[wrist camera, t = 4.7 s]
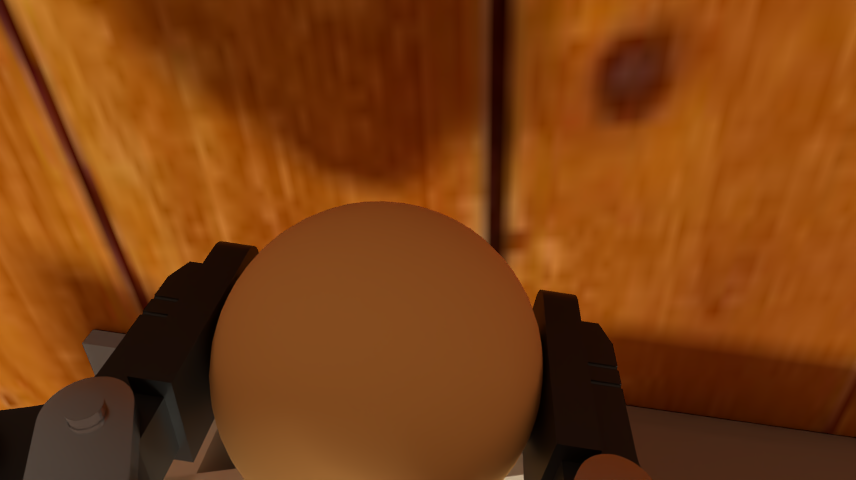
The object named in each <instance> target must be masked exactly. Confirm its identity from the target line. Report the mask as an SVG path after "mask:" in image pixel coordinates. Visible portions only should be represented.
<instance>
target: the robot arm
mask: <svg viewBox="0 0 856 480" xmlns="http://www.w3.org/2000/svg"><path fill="white" fill-rule="evenodd" d="M258 253H259V252H258V249H257V248H256V247H255V246H249V245H242V244H236V243H229V242H222V241H220V242H218V243H217V244H216V245H215V246H214V247H213V249H212V250H211V252H210V253H209V255H208V256H207V258H206V259H205V261H204V262H203V263H196V262H189V263H187V264H186V265H184V266H183V267H181V268H180V269H178V270H177V271H175V272H174V273H172V274H171V275H170V276H168V277H167V279H166V280H165V281H164V283H163V284H162V286H161V287H160V288H159V290H158V291H157V292H156V294H155V297H154V299H151V301H150V302H149V303H148V305H147V306H146V307H145V309H144V310H143V314H142V315H140V316H139V317H138V318H137V320H136V321H135V323H134V324H133V325H132V327H131V328H130V329H129V331H128V332H127V334H126V335H125V336H124V338H123V339H122V340H121V342H120V343H119V344H118V346H117V347H116V349H115V350H114V351H113V353H112V354H111V355H110V357H109V358H108V360H107V361H106V362H105V364H104V365H103V366H102V368H101V369H100V370H99V372H98V373H97V374H96V375H95V377H91V378H87V379H83V380H80V381H77V382H74V383H72V384H70V385H68V386H66V387H65V388H63V389H61V390H60V391H58V392H57V393H56V394H54V395H53V396H52V397H51V398H50V399H49V400H48V401H47V402H46V403H45V404H44V405H38V406H32V407H24V408H16V409H8V410H0V480H164V477H165V475H166V474H167V472H168V470H169V468H170V466H171V464H172V462H173V460H181V461H187V462H193V463H194V460H195V458H196V456H197V454H198V452H199V450H200V448H201V446H202V444H203V442H204V439H205V437H206V435H207V433H208V431H209V429H210V427H211V425H212V423H213V421H214V419H215V418H214V414H213V410H212V405H211V396H210V384H209V368H210V357H211V347H212V341H213V337H214V333H215V330H216V326H217V323H218V319H219V316H220V313H221V310H222V308H223V306H224V304H225V302H226V300H227V297H228V295H229V293H230V292H231V290H232V288H233V286H234V285H235V283H236V281H237V280H238V278H239V277H240V275H241V274H242V273H243V271H244V270H245V268H246V267H247V266H248V265H249V264H250V262H251V261H252V260H253V259H254V258H255V257H256V255H257V254H258ZM533 312H534V315H535V318H536V321H537V324H538V327H539V333H540V339H541V346H542V352H543V384H542V392H541V399H540V405H539V410H538V413H537V417H536V421H535V423H534V426H533V429H532V432H531V435H530V438H529V440H528V442H527V444H526V445H525V447H524V449H523V473H524V480H653V479H652V478H651V477H650V476H649V475H648V474H647V473H646V472H645V471H644V470H643V469H642V468H641V466H640V464H639V461H638V458H637V454H636V450H635V445H634V440H633V436H632V431H631V426H630V422H629V417H628V413H627V408H626V403H625V399H624V394H623V390H622V389H621V380H620V376H619V371H618V370H617V362H616V357H615V353H614V348H613V344H612V343H611V341H610V340H609V338H608V337H607V335H606V334H605V332H604V331H603V330H602V328H601V327H600V325H599V324H597V323H590V322H584V321H581V316H580V310H579V304H578V299H577V297H576V295H572V294H565V293H559V292H552V291H545V290H540V291H539V292H538V294H537V296H536V300H535V303H534V306H533Z"/></svg>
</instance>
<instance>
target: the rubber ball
mask: <svg viewBox="0 0 856 480" xmlns="http://www.w3.org/2000/svg"><path fill="white" fill-rule="evenodd" d="M209 384H210V396H211V405H212V410H213V414H214V418H215V422H216V425H217V429H218V432H219V435H220V438H221V440H222V442H223V444H224V446H225V448H226V451H227V453H228V455H229V457H230V459H231V461H232V462H233V464H234V466H235V467H236V468H237V470H238V471H239V473H240V474H241V475H242V477H243V478H244V480H504V478H505V477H506V476H507V475H508V473H509V472H510V471H511V469H512V468H513V467H514V466H515V464H516V462H517V460H518V458H519V457H520V455H521V453H522V451H523V449H524V447H525V445H526V444H527V442H528V440H529V438H530V435H531V432H532V429H533V426H534V423H535V421H536V417H537V413H538V410H539V405H540V399H541V392H542V384H543V352H542V346H541V339H540V333H539V327H538V324H537V321H536V318H535V315H534V312H533V309H532V307H531V304H530V301H529V298H528V296H527V294H526V292H525V291H524V289H523V287H522V285H521V283H520V281H519V280H518V278H517V277H516V275H515V273H514V272H513V270H512V269H511V268H510V266H509V265H508V264H507V263H506V261H505V260H504V259H503V258H502V257H501V256H500V255H499V254H498V253H497V252H496V251H495V250H494V249H493V248H492V247H491V246H490V245H489V244H488V243H487V242H486V241H485V240H484V239H483V238H482V237H480V236H479V235H478V234H476V233H475V232H474V231H473V230H471V229H470V228H468V227H466V226H465V225H463V224H461V223H460V222H458V221H456V220H454V219H452V218H450V217H448V216H445V215H443V214H441V213H439V212H436V211H433V210H429V209H426V208H423V207H420V206H415V205H410V204H405V203H396V202H385V201H380V202H360V203H353V204H347V205H343V206H339V207H335V208H332V209H329V210H326V211H323V212H320V213H318V214H315V215H313V216H311V217H308V218H306V219H304V220H302V221H301V222H299V223H297V224H295V225H294V226H292V227H290V228H289V229H287V230H286V231H284V232H283V233H281V234H280V235H279V236H277V237H276V238H275V239H274V240H272V241H271V242H270V243H269V244H268V245H267V246H266V247H265V248H264V249H262V250H261V251H260V252H259V253H258V254H257V255H256V257H255V258H254V259H253V260H252V261H251V262H250V264H249V265H248V266H247V267H246V268H245V270H244V271H243V273H242V274H241V275H240V277H239V278H238V280H237V281H236V283H235V285H234V286H233V288H232V290H231V292H230V293H229V295H228V297H227V300H226V302H225V304H224V306H223V308H222V310H221V313H220V316H219V319H218V323H217V326H216V330H215V333H214V337H213V341H212V347H211V357H210V368H209Z"/></svg>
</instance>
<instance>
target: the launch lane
mask: <svg viewBox="0 0 856 480" xmlns="http://www.w3.org/2000/svg"><path fill="white" fill-rule="evenodd" d="M125 335H126V334H121V333H114V332H107V331H100V330H92V332H91V333H90V334H89V335H88V336H87V338H86V339H85V340H84V341H83V343H82V344H83V347H84V349H85V352H86V354H87V357H88V359H89V361H90V364H91V366H92V369H93V371H94V374H95V375H96V374H97V373H98V372H99V370H100V369H101V368H102V366H103V365H104V364H105V362H106V361H107V360H108V358H109V357H110V355H111V354H112V353H113V351H114V350H115V349H116V347H117V346H118V344H119V343H120V342H121V340H122V339H123V338H124V336H125ZM626 408H627V413H628V417H629V422H630V426H631V431H632V436H633V440H634V445H635V450H636V454H637V458H638V461H639V464H640V466H641V468H642V469H643V470H644V471H645V472H646V473H647V474H648V475H649V476H650V477H651V478H652V479H653V480H856V438H851V437H844V436H837V435H830V434H823V433H816V432H809V431H802V430H795V429H788V428H781V427H774V426H767V425H760V424H753V423H746V422H739V421H732V420H725V419H718V418H711V417H704V416H697V415H690V414H683V413H676V412H669V411H662V410H655V409H648V408H641V407H634V406H627V405H626ZM164 480H244V478H243V477H242V475H241V474H240V473H239V471H238V470H237V468H236V467H235V466H234V464H233V462H232V461H231V459H230V457H229V455H228V453H227V451H226V448H225V446H224V444H223V442H222V440H221V438H220V435H219V432H218V429H217V425H216V422H215V419H214V421H213V423H212V425H211V427H210V429H209V431H208V433H207V435H206V437H205V439H204V442H203V444H202V446H201V448H200V450H199V452H198V454H197V456H196V458H195V460H194V463H193V462H187V461H181V460H173V462H172V464H171V466H170V468H169V470H168V472H167V474H166V475H165V477H164ZM504 480H524V473H523V451H522V453H521V455H520V457H519V458H518V460H517V462H516V464H515V466H514V467H513V468H512V469H511V471H510V472H509V473H508V475H507V476H506V477H505V478H504Z"/></svg>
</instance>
